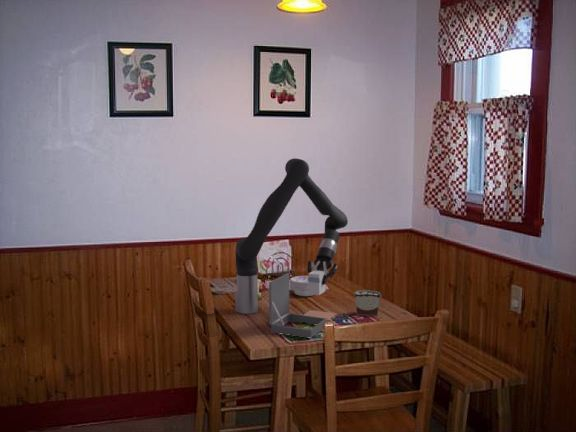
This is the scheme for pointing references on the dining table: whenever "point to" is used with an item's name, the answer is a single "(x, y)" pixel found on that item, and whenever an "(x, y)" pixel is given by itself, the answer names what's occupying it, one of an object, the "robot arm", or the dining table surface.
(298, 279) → the paper bowls
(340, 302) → the dining table surface
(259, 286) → the cat figure
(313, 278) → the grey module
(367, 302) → the food container
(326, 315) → the terracotta mat
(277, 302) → the equipment case
